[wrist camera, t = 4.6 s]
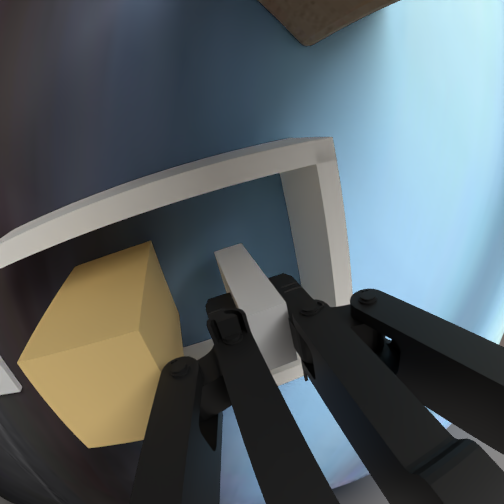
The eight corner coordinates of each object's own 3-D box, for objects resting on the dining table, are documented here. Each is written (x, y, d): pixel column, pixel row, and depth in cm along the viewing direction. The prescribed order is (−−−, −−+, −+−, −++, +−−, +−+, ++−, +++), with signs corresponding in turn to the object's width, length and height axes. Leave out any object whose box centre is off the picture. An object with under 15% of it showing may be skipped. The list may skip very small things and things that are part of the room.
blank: (74, 266, 16) (16, 363, 8) (151, 240, 16) (138, 330, 8) (108, 335, 18) (88, 448, 9) (179, 314, 18) (194, 428, 10)
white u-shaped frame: (15, 228, 14) (-28, 257, 9) (289, 137, 17) (332, 136, 12) (95, 382, 18) (86, 434, 14) (319, 312, 21) (355, 353, 17)
